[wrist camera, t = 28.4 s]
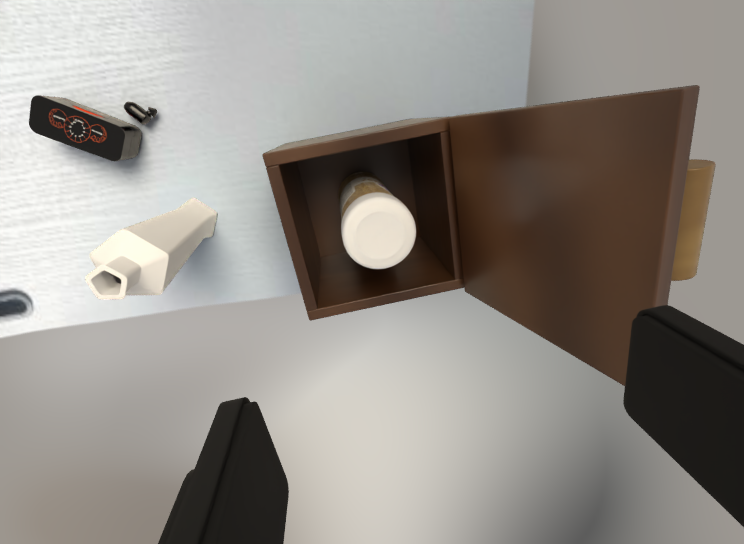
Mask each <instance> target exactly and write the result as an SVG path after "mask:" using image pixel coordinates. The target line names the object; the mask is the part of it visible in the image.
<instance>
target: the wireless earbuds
mask: <svg viewBox="0 0 744 544" xmlns="http://www.w3.org/2000/svg"><path fill="white" fill-rule="evenodd" d="M124 109H125V110H126V112H127V113H128V114H129V115H130V116H132V117H133V118H135V119H136V120H137V121H139V122H140V123H141V124H143V125H145V124H147V123H149V122H150V120H151V116H153V118H155V116H156V114H157V110H156V109H154V108H150V107H148V109H149V111H145V110H144V109H143V108H141V107H140V106H139V105H137V104H136V103H134V102H126V103H125V105H124ZM29 125H30V128H31V129H32V130H33V131H34V132H35V133H37V134H40V135H43V136H45V137H48V138H51V139H53V140H56V141H59V142H62V143H64V144H67V145H70V146H73V147H75V148H78V149H81V150H84V151H86V152H89V153H92V154H95V155H97V156H100V157H103V158H105V159H108V160H111V161H120V160H125V159H131V158H134V157H136V156H137V155H138V151H139V146H140V141H141V136H142V133H141V130H140V129H139V128H138V127H137V126H135V125H132V124H130V123H127V122H125V121H122V120H119V119H117V118H114V117H112V116H109V115H107V114H104V113H102V112H99V111H96V110H94V109H91V108H89V107H86V106H84V105H81V104H79V103H76V102H74V101H71V100H68V99H66V98H60V97H50V96H34V97H33V98H32V101H31V109H30V118H29Z"/></svg>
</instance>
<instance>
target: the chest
mask: <svg viewBox="0 0 744 544" xmlns="http://www.w3.org/2000/svg"><path fill="white" fill-rule="evenodd" d="M449 118H450V117H434V118H417V119H408V120H403V121H397V122H392V123H387V124H382V125H377V126H372V127H367V128H362V129H357V130H352V131H347V132H342V133H337V134H332V135H327V136H322V137H317V138H312V139H307V140H301V141H296V142H291V143H286V144H283V145H281V146H279V147H277V148H275V149H272V150H270V151H268V152H266V153H264V154H263V159H264V162H265V166H266V167H267V168H266V170H267V173H268V177H269V180H270V184H271V187H272V191H273V194H274V198H275V201H276V205H277V208H278V212H279V215H280V219H281V222H282V226H283V229H284V233H285V236H286V240H287V243H288V247H289V250H290V254H291V257H292V261H293V264H294V268H295V272H296V275H297V279H298V282H299V286H300V289H301V293H302V295H303V300H304V303H305V306H306V310H307V314H308V317H309V320H315V319H319V318H324V317H329V316H333V315H338V314H343V313H347V312H352V311H357V310H361V309H366V308H371V307H375V306H380V305H385V304H389V303H394V302H399V301H404V300H408V299H412V298H417V297H422V296H427V295H432V294H436V293H441V292H445V291H450V290H455V289H459V288H464V276H463V265H462V254H461V243H460V232H459V222H458V211H457V200H456V189H455V178H454V167H453V157H452V146H451V135H450V124H449ZM356 172H369V173H372V174H374V175H376V176H377V177H378V178H379V179H380V180H381V181H382V182H383V184H384V185H385V187H386V188H387V189H388V191H389V192H390V193H391V194H392V195H393V196H394V197H396V198H397V199H399V200H400V201H401V202H402V203H403V204H404V205H405V206H406V207H407V208H408V210H409V211H410V213H411V214H412V216H413V218H414V221H415V225H416V238H415V242H414V245H413V247H412V249H411V251H410V253H409V254H408V255H407V256H406V257H405V258H404V259H403V260H402V261H401V262H399V263H398V264H396V265H394V266H392V267H389V268H385V269H371V268H367V267H364V266H362V265H360V264H358V263H357V262H355V261H354V260H353V259H352V258H351V257H350V255H349V254H348V253H347V251H346V249H345V247H344V244H343V240H342V233H341V223H342V219H341V212H340V203H339V200H338V192H339V188H340V186H341V184H342V182H343V181H344V180H345V179H346V178H347V177H348V176H350V175H351V174H353V173H356Z"/></svg>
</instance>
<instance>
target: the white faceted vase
mask: <svg viewBox="0 0 744 544" xmlns="http://www.w3.org/2000/svg"><path fill="white" fill-rule="evenodd" d="M216 220H217V212H216V211H214V210H213V209H211V208H210V207H208V206H207V205H205V204H203V203H202V202H200V201H199V200H197V199H196V198H191V199H190V200H188V201H187V202H186V203H184V204H183V205H182V206H180V207H179V208H178V209H176V210H173V211H171V212H168V213H165V214H162V215H160V216H157V217H154V218H151V219H149V220H146V221H143V222H140V223H137V224H135V225H132V226H129V227H126V228H124V229H121V230H119V231H118V232H117V233H116V234H114V235H113V236H112V237H110V238H109V239H108V240H106V241H105V242H104V243H103V244H101V245H100V246H99V247H97V248H96V249H95V250H93V251H92V252H91V253H90V255H89V257H90V259H91V260H92V262H93V264H94V265H95V267H96V269H94V270H93V271H92V272H90V273H89V274H88V275H87V276H86V277H85V280H86V282H87V284H88V285H89V287H90V288H91V290H92V291H93V293H94V294H95V296H96V297H97V298H99V299H123V298H124V297H125V295H160V294H162V292H163V291H164V290H165V288H166V287H167V286H168V285H169V283H170V282H171V281H172V279H173V278H174V277H175V275H176V274H177V273H178V271H179V270H180V269H181V267H182V266H183V265H184V264H185V262H186V261H187V260H188V258H189V257H190V256H191V254H192V253H193V252H194V250H195V249H196V248H197V247H198V245H199V244H200V243H201V241H202V240H203V239H204V238H208V237H212V236H213V233H214V229H215V224H216Z"/></svg>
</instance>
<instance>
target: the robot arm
mask: <svg viewBox="0 0 744 544" xmlns="http://www.w3.org/2000/svg"><path fill="white" fill-rule="evenodd" d="M624 407H625V409H626V412H627V413H628V415H629V416H630V417H631V418H632V419H633V420H634V421H635V422H636V423H637V424H638V425H639V426H640V427H641V428H642V429H643V430H644V431H645V432H646V433H647V434H648V435H649V436H651V437H652V438H653V439H654V440H655V441H656V442H657V443H658V444H659V445H660V446H661V447H662V448H663V449H664V450H665V451H666V452H667V453H668V454H669V455H670V456H671V457H672V458H673V459H674V460H675V461H676V462H677V463H678V464H679V465H680V466H681V467H682V468H684V470H685V471H687V473H689V474H690V475H691V476H692V477H693V478H694V479H695V480H696V481H697V482H698V483H699V484H700V485H701V486H702V487H703V488H704V489H705V490H706V491H707V492H708V493H709V494H710V495H711V496H712V497H713V498H714V499H716V501H717V502H718V503H720V504H721V505H722V506H723V507H724V508H725V509H726V510H727V511H728V512H729V513H730V514H731V515H732V516H733V517H734V518H735V519H736V520H737V521H738V522H739V523H740V524H741V525H742V526H743V527H744V345H743V344H741V343H739V342H737V341H735V340H734V339H732V338H730V337H728V336H726V335H724V334H722V333H720V332H718V331H717V330H714V329H713V328H711V327H709V326H707V325H705V324H704V323H701V322H700V321H698V320H696V319H694V318H692V317H690V316H688V315H687V314H685V313H683V312H681V311H679V310H677V309H675V308H673V307H671V306H668V305H662V306H658V307H653V308H649V309H644V310H641V311H639V313H638V314H637V316H636V318H634V320H633V321H632V327H631V336H630V345H629V355H628V364H627V373H626V382H625V393H624ZM288 493H289V491H288V482H287V478H286V475H285V473H284V470H283V468H282V465H281V462H280V460H279V457H278V455H277V452H276V449H275V447H274V444H273V442H272V439H271V436H270V434H269V432H268V429H267V426H266V424H265V421H264V418H263V416H262V413H261V411H260V408H259V406H258V404H257V402H250V401H249V399H248V398H246V397H244V398H240V399H235V400H230V401H226V402H222V403H221V404H220V406H219V407H218V410H217V413H216V415H215V418H214V420H213V423H212V425H211V428H210V431H209V433H208V436H207V439H206V441H205V443H204V446H203V449H202V451H201V454H200V456H199V459H198V462H197V464H196V467H195V469H194V470H191V471H190V472H189V473H188V474H187V476H186V478H185V479H184V481H183V484H182V486H181V489H180V491H179V494H178V496H177V499H176V501H175V503H174V506H173V508H172V511H171V513H170V516H169V518H168V521H167V523H166V525H165V528H164V530H163V533H162V536H161V538H160V540H159V543H158V544H283V541H284V532H285V522H286V513H287V504H288Z"/></svg>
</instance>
